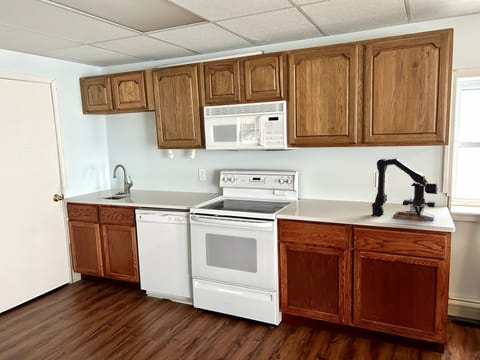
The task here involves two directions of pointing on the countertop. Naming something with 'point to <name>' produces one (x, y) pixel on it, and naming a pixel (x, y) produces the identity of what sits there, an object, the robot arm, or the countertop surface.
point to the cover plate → (427, 216)
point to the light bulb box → (413, 207)
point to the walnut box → (407, 216)
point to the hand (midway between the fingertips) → (418, 216)
